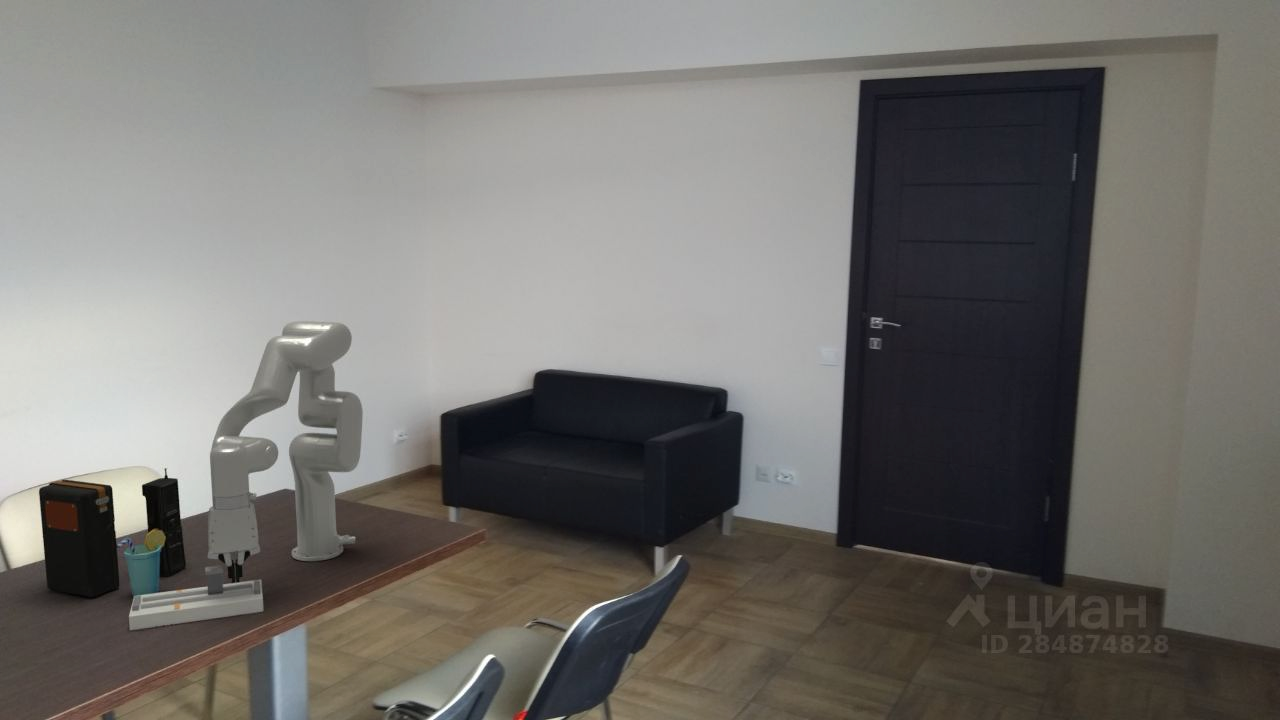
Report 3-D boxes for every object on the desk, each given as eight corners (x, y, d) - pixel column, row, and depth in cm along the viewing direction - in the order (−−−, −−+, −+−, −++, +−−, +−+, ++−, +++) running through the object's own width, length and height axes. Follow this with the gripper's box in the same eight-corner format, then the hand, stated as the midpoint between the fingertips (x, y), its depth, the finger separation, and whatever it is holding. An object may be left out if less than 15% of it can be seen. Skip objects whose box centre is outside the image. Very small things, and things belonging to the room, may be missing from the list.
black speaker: (125, 587, 222) (117, 483, 218) (93, 601, 214) (84, 493, 210) (74, 578, 227) (66, 477, 223) (41, 591, 219) (32, 486, 215)
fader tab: (224, 590, 212) (223, 565, 211) (224, 594, 209) (223, 569, 208) (206, 592, 210) (205, 567, 210) (206, 597, 208) (205, 571, 207)
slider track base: (261, 591, 219) (261, 575, 219) (263, 611, 209) (262, 594, 208) (135, 608, 209) (133, 591, 209) (129, 630, 198) (128, 612, 198)
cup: (137, 608, 210) (133, 543, 207) (106, 606, 211) (101, 541, 209) (178, 585, 223) (174, 523, 221) (148, 582, 224) (143, 521, 222)
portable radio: (166, 579, 227) (159, 477, 223) (144, 577, 228) (137, 475, 224) (188, 567, 235) (181, 469, 231) (166, 565, 236) (160, 467, 232)
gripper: (267, 492, 215) (270, 570, 217) (194, 500, 209) (199, 579, 211) (268, 501, 208) (272, 581, 211) (193, 509, 202) (198, 591, 205)
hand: (235, 580), depth 211 cm, fingers closed
